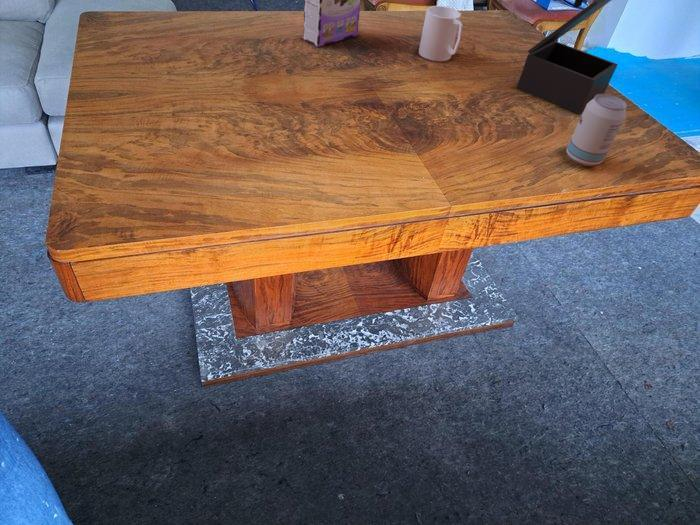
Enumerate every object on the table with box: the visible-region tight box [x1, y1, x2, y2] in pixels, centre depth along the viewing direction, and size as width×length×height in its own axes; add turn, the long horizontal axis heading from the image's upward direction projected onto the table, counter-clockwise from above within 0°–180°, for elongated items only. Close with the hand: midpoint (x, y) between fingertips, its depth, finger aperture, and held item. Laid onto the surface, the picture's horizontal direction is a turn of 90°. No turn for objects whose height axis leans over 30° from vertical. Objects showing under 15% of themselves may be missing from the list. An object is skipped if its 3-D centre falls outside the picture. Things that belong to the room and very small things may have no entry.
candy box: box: [302, 0, 362, 48], centre depth 123 cm, size 14×6×16 cm, turn 134°
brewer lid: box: [527, 0, 612, 54], centre depth 109 cm, size 16×14×9 cm
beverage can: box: [565, 93, 628, 167], centre depth 94 cm, size 7×7×12 cm
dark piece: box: [516, 40, 619, 115], centre depth 116 cm, size 16×14×8 cm
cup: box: [418, 5, 464, 62], centre depth 123 cm, size 8×12×10 cm
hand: (566, 2), depth 108 cm, fingers open, 4 cm apart
